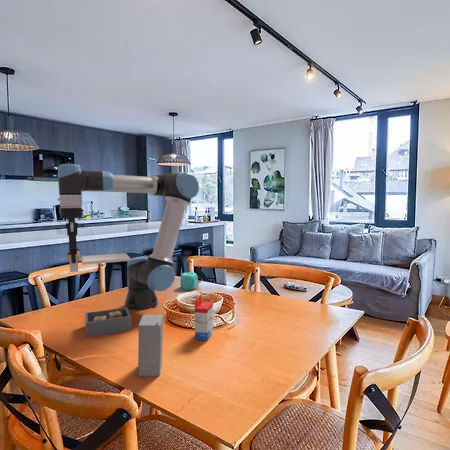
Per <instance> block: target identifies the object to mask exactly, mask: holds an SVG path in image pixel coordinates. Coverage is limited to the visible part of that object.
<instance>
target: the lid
mask: <svg viewBox="0 0 450 450" xmlns="http://www.w3.org/2000/svg"><path fill="white" fill-rule="evenodd" d="M67 253H69V251H68V252H67ZM77 256H78V264H81V263H82V265H95V264H105V263H107V264H108V263H118V262H128V261H130V259H131V257H130V256H129V255H128V254H127V253H126V252H119V253H118V252H117V253H106V254H92V255H91V254H89V255H81V253H80V251H77ZM66 260H67V262H68V263H70V260H69V255H67V254H66Z"/></svg>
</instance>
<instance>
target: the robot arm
mask: <svg viewBox="0 0 450 450" xmlns="http://www.w3.org/2000/svg"><path fill="white" fill-rule="evenodd" d="M57 181H58V183H57V185H58V196H59V197H58V198H57V201H58V202H59V207H60V209H59V217H60V219H67V220H68V221H67V222H66V223H65V228H66V235H67V236H68V250H69V251H68V252H69V253H68V252H67V254H66V256H67V255H69V260H70V262H69V273H76V272H79V261H78V256H77V251H78V252H80V249H79V248H78V247H77V245H78V244H77V236H78V228H79V225H78V223H79V222H76V219H81V218H83V194H82V192H102V193H103V192H104V193H105V192H106V193H107V192H108V193H131V194H133V193H134V194H135V193H136V194H137V193H139V194H148V195H150V196H156V197H163V198H164V199H165V201H166V205H165V209H164V212H163V215H162V219H161V221H160V222H161V223H160V226H159V230H158V232H157V237H156V240H155V243H154V248H153V251H152V253H151V254H149V255H147V256H138V257H133V258H131V257H130V261H126V262H127V265H126V269H127V271H126V272H127V286H128V287H127V293H126V297H125V301H124V307H127V309H128V310H133V311H134V310H135V311H139V310H141V311H142V310H149V309H153V308H156V307H157V306H158V304H159V301H158V300H159V299H158V297H157V295H156V292H164V291H166V290H168V289H169V288H170V287H172V285H173V283H174V282H175V279H176V273H175V270H174V268H173V266H174V261H173V259H172V258H173V254H174V250H175V247H176V243H177V240H178V236H179V231H180V228H181V225H182V221H183V217H184V213H185V210H186V207H188V206H190V205H191V201H192V199H193V198H195V197H196V196H197V195H198V193H199V191H200V185H199V181H198V179H197V177H196V176H195V175H194V174H193V173H191V172H186V171H180V172H172V173H171V172H170V173H164V174H150V175H148V176H141V175H140V176H139V175H127V174H126V175H125V174H113V173H112V172H110V171H104V170H84V169H83V170H82V168H81V165H80V164H77V163H75V164H74V163H62V164H60V165H58V167H57Z"/></svg>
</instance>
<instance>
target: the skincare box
mask: <svg viewBox="0 0 450 450" xmlns="http://www.w3.org/2000/svg"><path fill="white" fill-rule="evenodd" d="M163 331H164V314H142V316H141V318H140V321H139V322H138V353H137V354H138V355H137V356H138V357H137V359H138V361H137V362H138V363H137V367H138V368H137V375H138V377H139V378H140V377H160V376H161V370H162V364H163V340H164V339H163V338H164V335H163V334H164V332H163Z"/></svg>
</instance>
